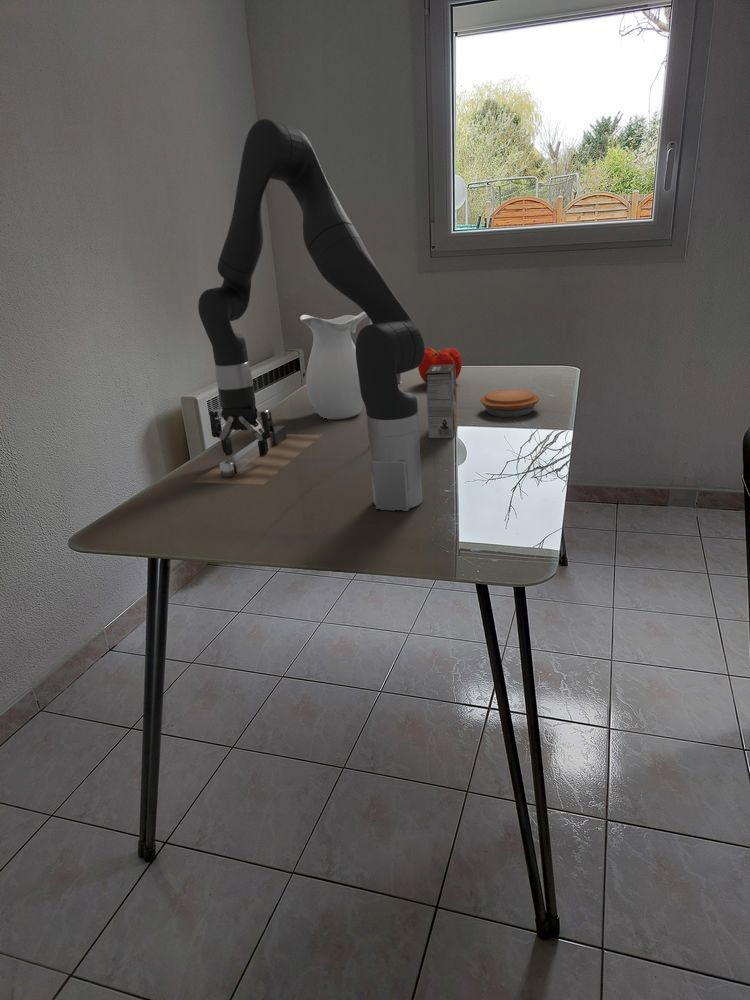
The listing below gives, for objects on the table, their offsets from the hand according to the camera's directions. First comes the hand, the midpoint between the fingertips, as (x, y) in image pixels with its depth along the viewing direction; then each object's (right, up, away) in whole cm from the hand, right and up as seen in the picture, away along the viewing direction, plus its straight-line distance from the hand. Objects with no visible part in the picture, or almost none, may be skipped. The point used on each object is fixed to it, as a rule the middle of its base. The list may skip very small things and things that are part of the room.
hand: (246, 455), depth 149 cm
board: (+3, -1, +4) cm, 5 cm away
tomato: (+50, +27, +64) cm, 86 cm away
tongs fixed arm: (+1, 0, +4) cm, 4 cm away
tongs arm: (+3, +1, +5) cm, 6 cm away
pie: (+65, +13, +29) cm, 72 cm away
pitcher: (+22, +15, +40) cm, 48 cm away
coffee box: (+46, +6, +15) cm, 49 cm away
